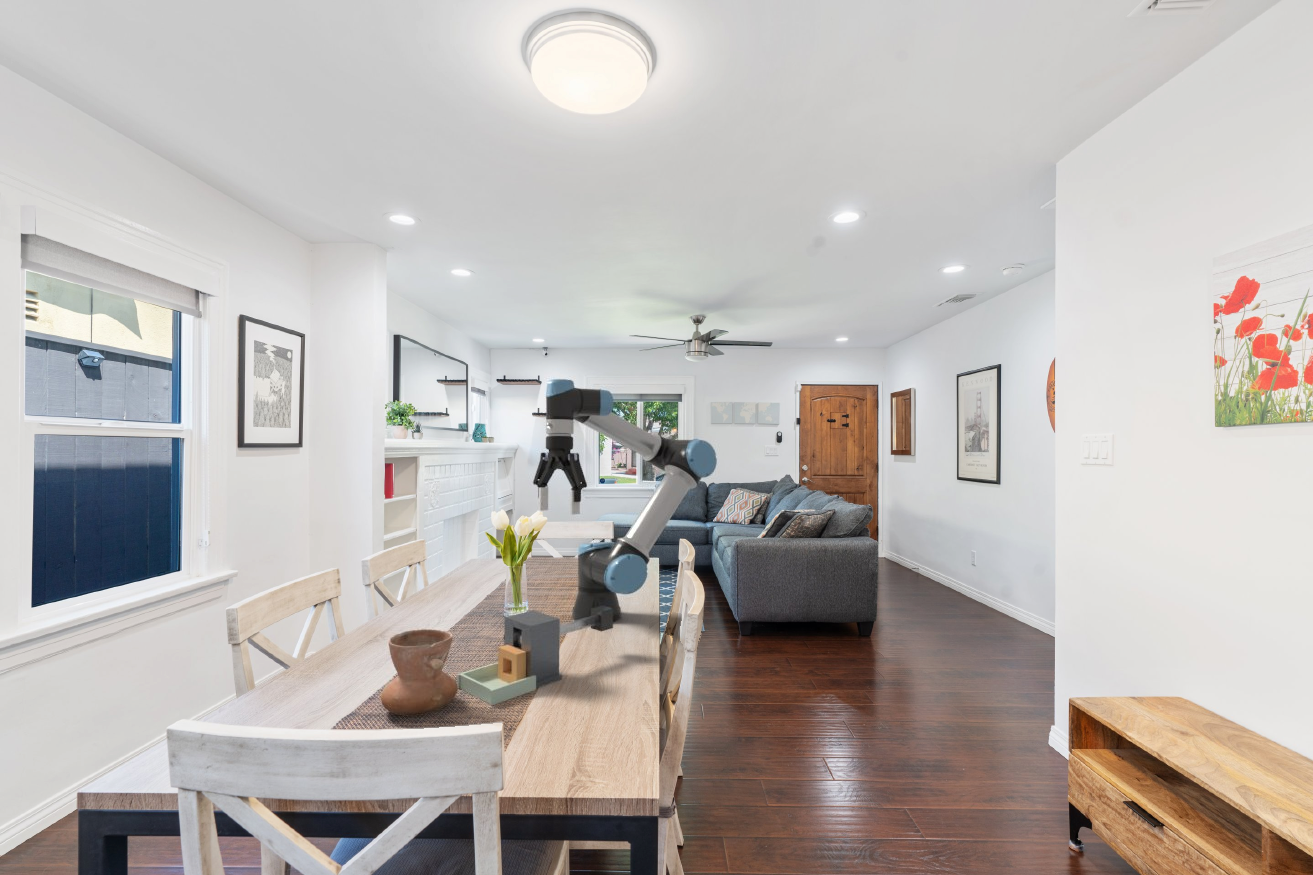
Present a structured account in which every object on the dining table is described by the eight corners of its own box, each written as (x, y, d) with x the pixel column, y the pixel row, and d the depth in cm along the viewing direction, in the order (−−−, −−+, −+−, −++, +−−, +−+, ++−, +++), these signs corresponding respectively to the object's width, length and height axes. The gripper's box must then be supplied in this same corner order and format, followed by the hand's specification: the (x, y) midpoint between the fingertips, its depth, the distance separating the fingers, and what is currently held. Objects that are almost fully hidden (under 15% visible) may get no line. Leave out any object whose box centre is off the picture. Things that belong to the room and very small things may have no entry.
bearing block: (529, 666, 147) (530, 609, 147) (561, 679, 139) (562, 619, 139) (501, 675, 141) (502, 616, 141) (533, 689, 133) (533, 626, 133)
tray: (501, 674, 142) (501, 661, 142) (535, 689, 133) (536, 675, 133) (457, 687, 133) (457, 674, 133) (491, 705, 124) (491, 690, 124)
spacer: (507, 675, 139) (507, 644, 139) (525, 683, 135) (526, 651, 135) (497, 678, 137) (498, 647, 137) (516, 686, 133) (516, 654, 133)
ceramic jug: (472, 709, 122) (473, 638, 123) (399, 731, 112) (401, 653, 113) (434, 685, 135) (435, 621, 136) (365, 703, 125) (367, 633, 126)
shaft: (602, 624, 159) (602, 605, 159) (612, 627, 156) (613, 608, 157) (515, 649, 139) (515, 627, 139) (525, 653, 136) (526, 631, 136)
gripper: (521, 435, 175) (520, 509, 174) (579, 434, 158) (578, 516, 158) (542, 435, 180) (541, 507, 180) (600, 435, 164) (599, 514, 163)
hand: (558, 512), depth 169 cm, fingers open, 13 cm apart
